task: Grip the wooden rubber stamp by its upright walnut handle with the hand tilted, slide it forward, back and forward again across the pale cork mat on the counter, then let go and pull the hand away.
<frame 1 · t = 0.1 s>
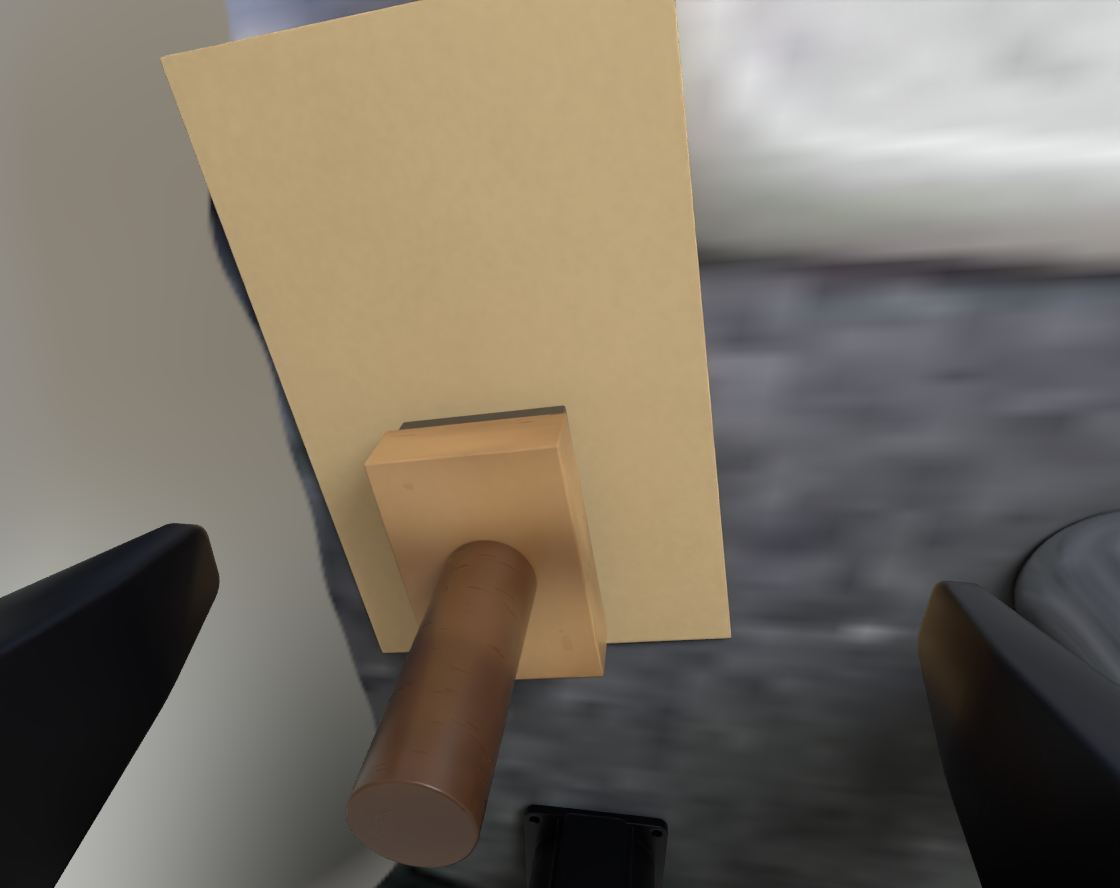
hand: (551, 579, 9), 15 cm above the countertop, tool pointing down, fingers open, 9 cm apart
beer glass: (1107, 579, 25), on the countertop
wooden rubber stamp: (508, 520, 27), resting on cork mat
cork mat: (490, 388, 24), on the countertop
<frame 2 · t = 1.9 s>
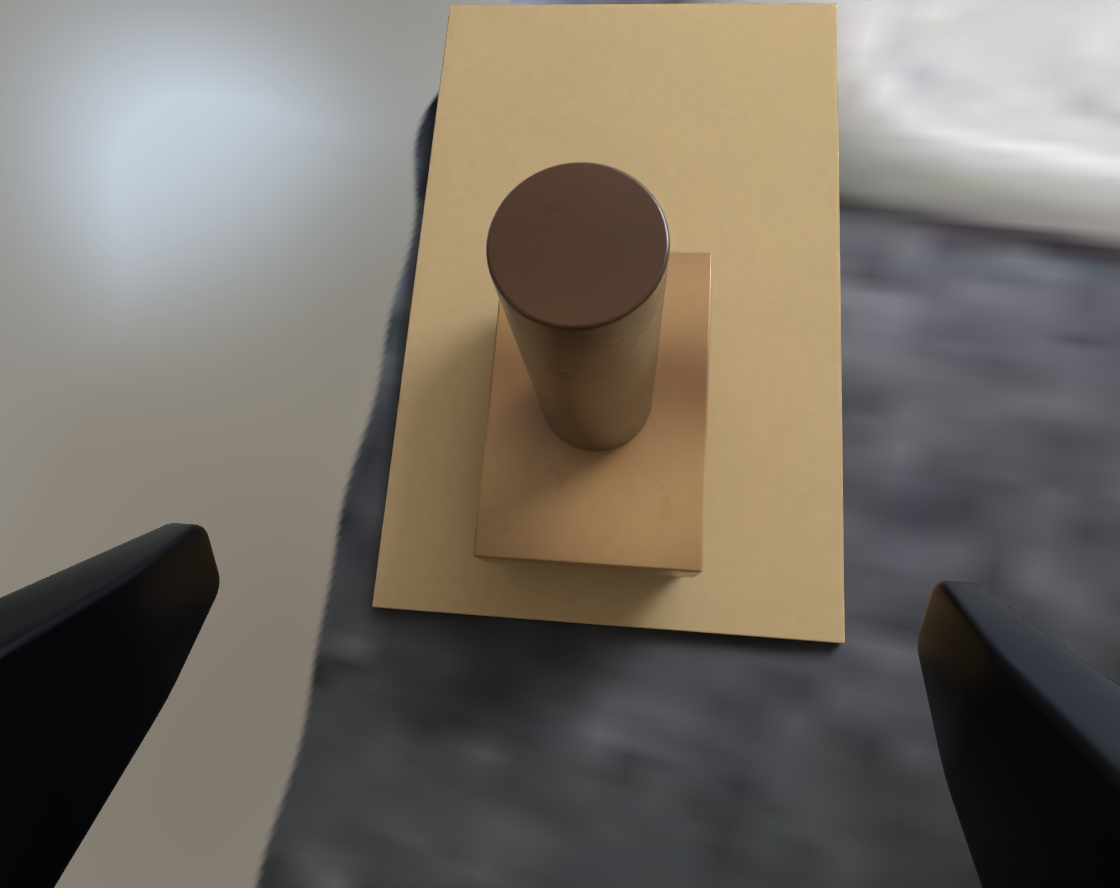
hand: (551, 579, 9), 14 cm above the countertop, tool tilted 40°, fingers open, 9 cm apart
wooden rubber stamp: (600, 428, 23), resting on cork mat
cork mat: (621, 286, 25), on the countertop
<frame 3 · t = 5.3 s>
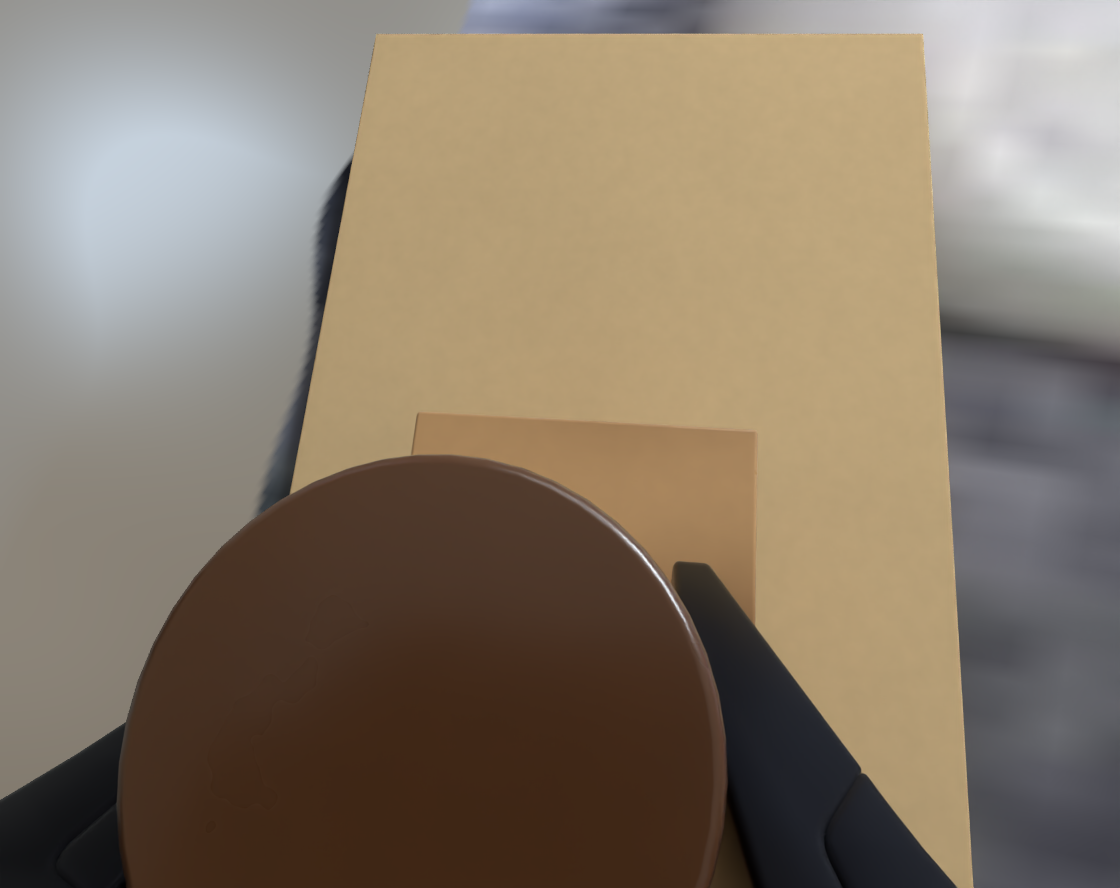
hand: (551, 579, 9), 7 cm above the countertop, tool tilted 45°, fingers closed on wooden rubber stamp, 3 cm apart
wooden rubber stamp: (574, 683, 15), resting on cork mat, touching gripper
cork mat: (610, 447, 16), on the countertop
when the fingers open (6 cm above the countertop, at t = 11.9 s): wooden rubber stamp stays where it is, resting on cork mat.
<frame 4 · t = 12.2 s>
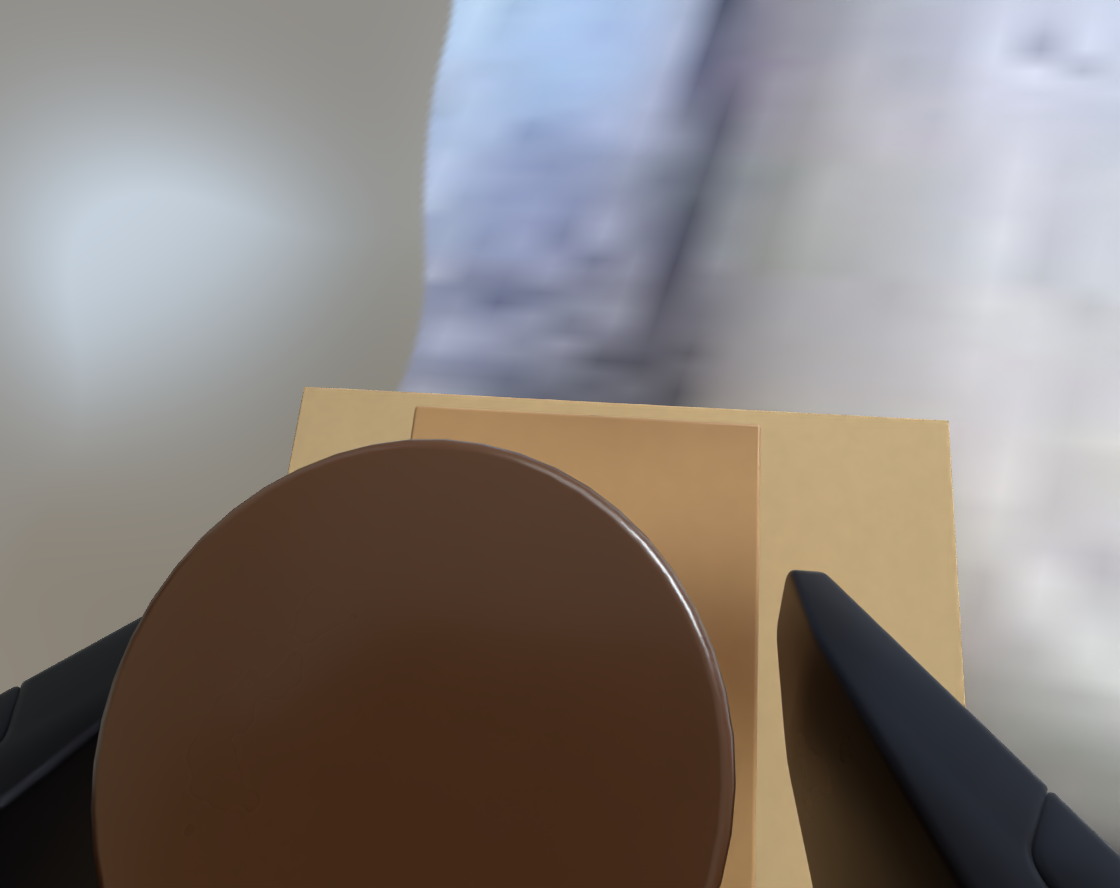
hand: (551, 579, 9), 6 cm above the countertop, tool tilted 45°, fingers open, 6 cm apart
wooden rubber stamp: (575, 682, 15), resting on cork mat
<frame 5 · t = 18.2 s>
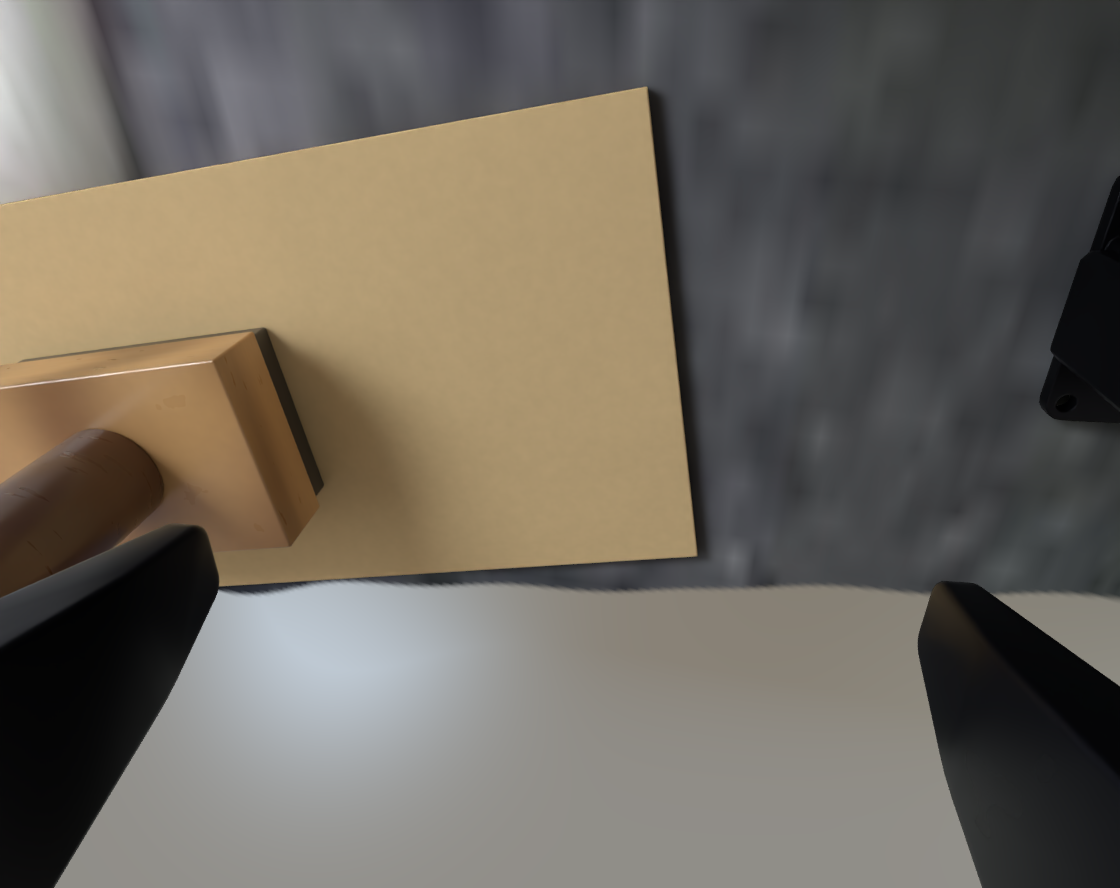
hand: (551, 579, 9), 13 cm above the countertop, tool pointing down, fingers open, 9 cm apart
wooden rubber stamp: (177, 423, 24), resting on cork mat
cork mat: (323, 393, 23), on the countertop
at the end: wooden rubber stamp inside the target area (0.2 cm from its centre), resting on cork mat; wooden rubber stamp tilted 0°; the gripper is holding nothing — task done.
